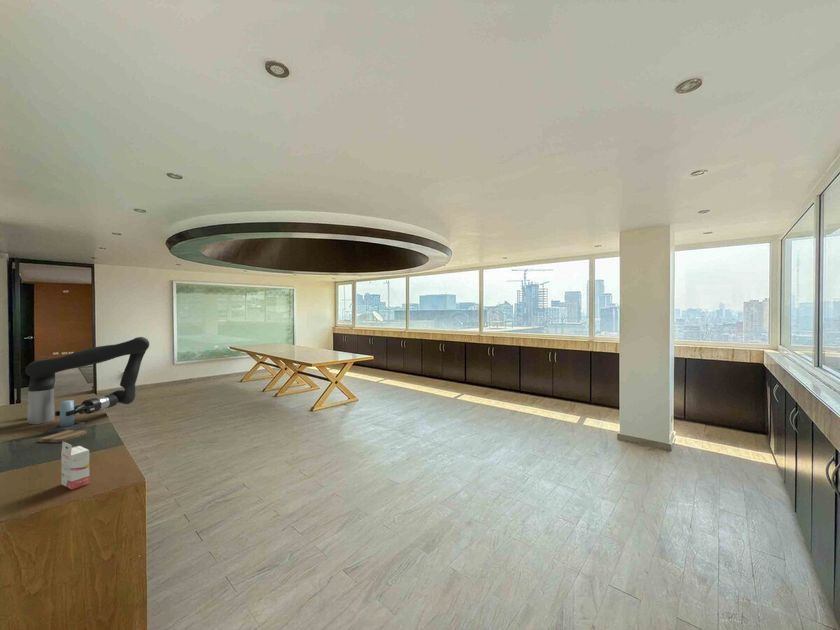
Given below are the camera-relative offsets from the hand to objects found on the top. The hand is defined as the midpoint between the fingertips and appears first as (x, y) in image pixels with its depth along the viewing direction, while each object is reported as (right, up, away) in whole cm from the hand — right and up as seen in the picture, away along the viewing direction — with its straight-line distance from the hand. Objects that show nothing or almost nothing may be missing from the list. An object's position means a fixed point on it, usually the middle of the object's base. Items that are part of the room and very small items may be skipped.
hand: (61, 414), depth 169 cm
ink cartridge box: (+59, -9, -52) cm, 79 cm away
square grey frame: (0, -8, +3) cm, 9 cm away
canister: (0, -8, +3) cm, 9 cm away
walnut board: (+10, -8, -9) cm, 16 cm away
